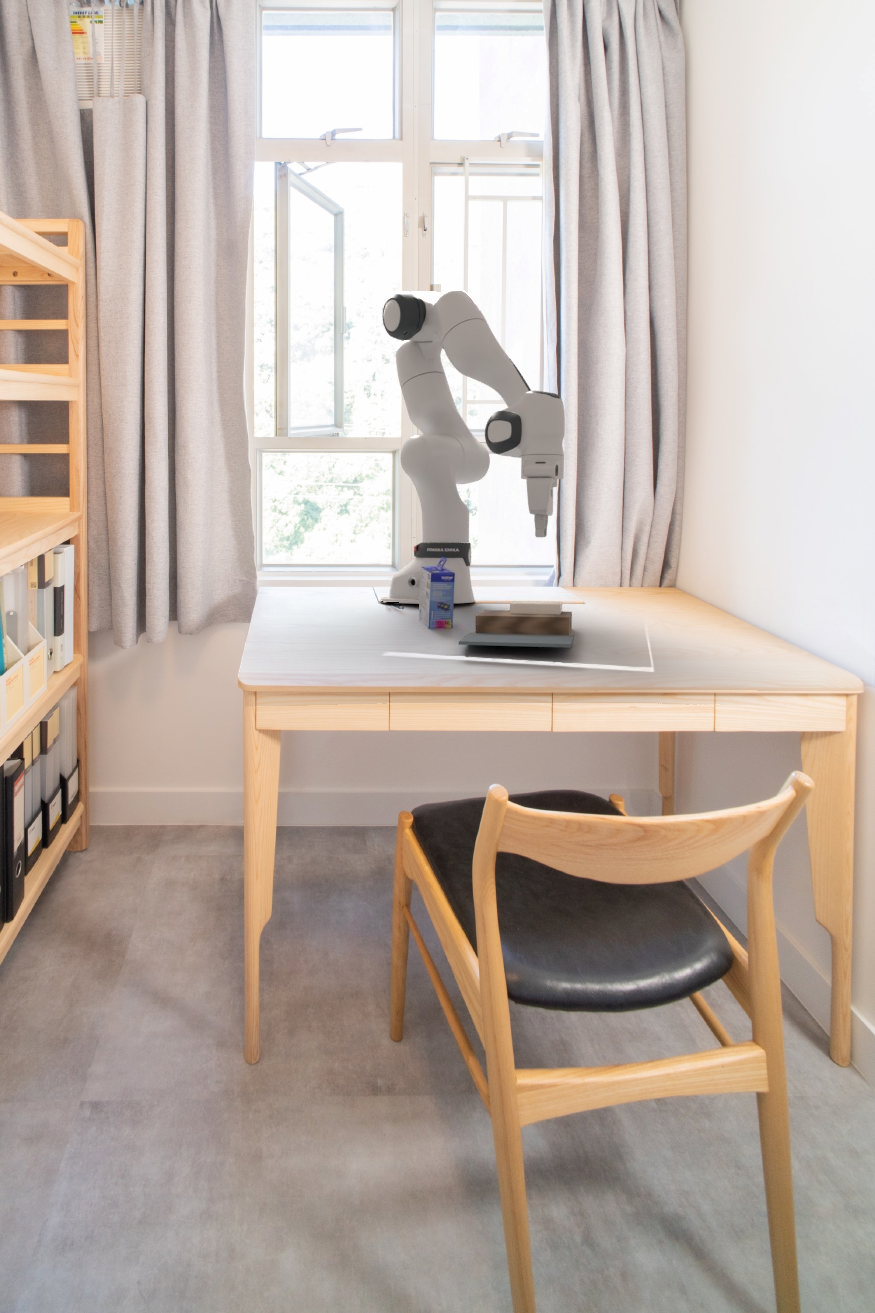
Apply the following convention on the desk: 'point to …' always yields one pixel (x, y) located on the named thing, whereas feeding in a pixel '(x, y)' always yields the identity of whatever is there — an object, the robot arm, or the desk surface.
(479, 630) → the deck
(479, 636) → the mat
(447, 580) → the ink cartridge box
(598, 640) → the desk surface
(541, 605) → the white flat block
